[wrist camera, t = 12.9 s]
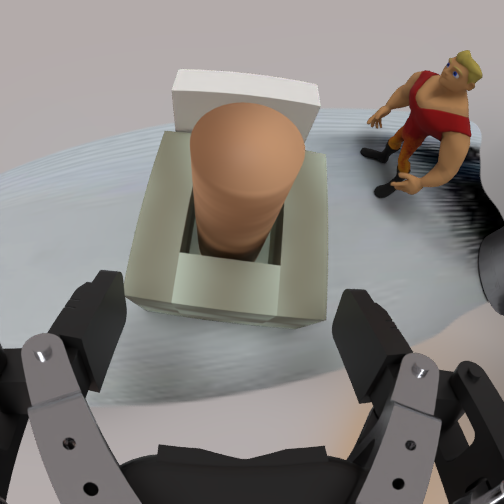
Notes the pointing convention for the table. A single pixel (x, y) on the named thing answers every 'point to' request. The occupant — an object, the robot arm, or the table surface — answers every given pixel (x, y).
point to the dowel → (241, 176)
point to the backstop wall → (242, 96)
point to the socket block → (228, 270)
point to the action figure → (430, 123)
